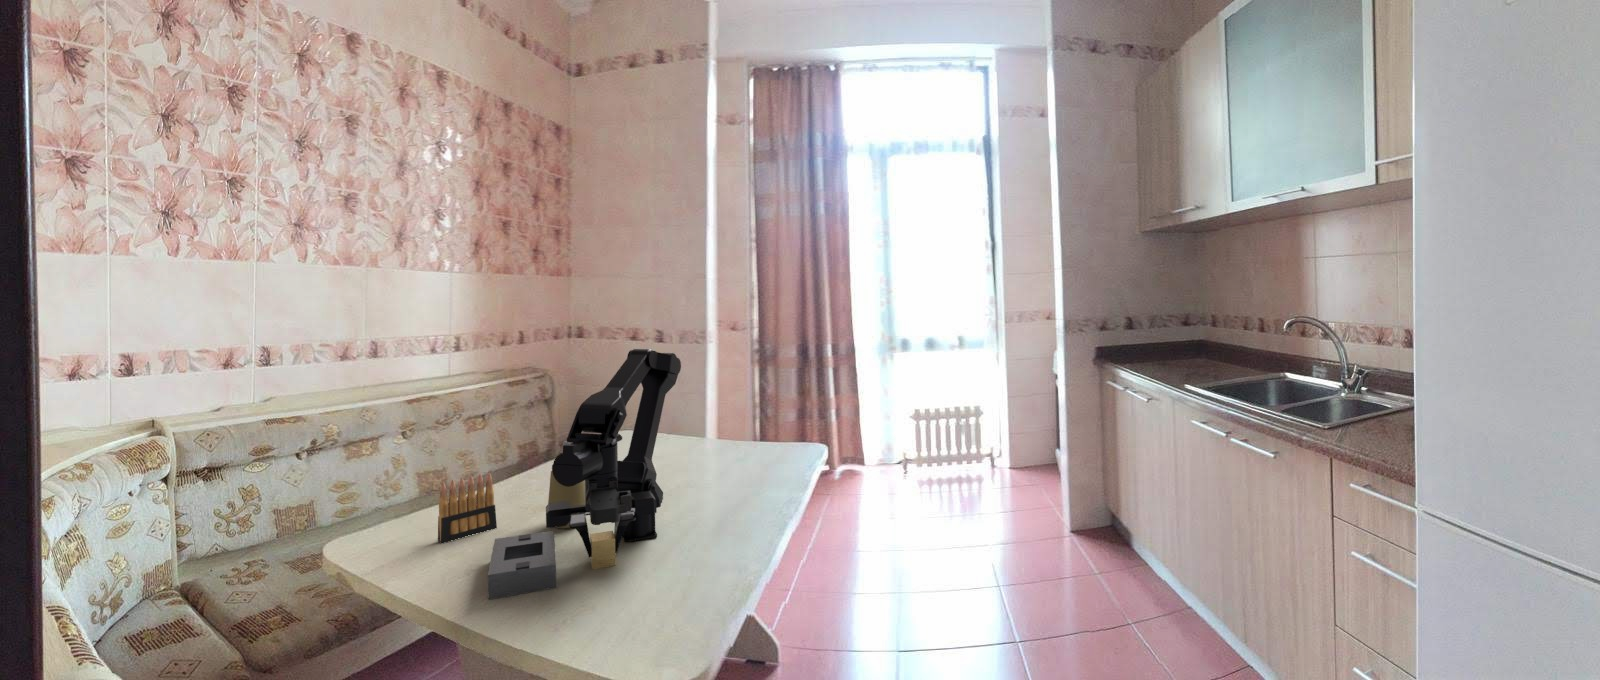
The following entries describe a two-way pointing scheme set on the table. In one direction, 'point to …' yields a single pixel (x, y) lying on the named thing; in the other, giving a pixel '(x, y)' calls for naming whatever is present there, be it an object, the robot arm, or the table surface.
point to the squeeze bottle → (566, 492)
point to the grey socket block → (522, 565)
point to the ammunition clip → (466, 510)
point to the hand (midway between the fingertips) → (602, 554)
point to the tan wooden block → (602, 549)
